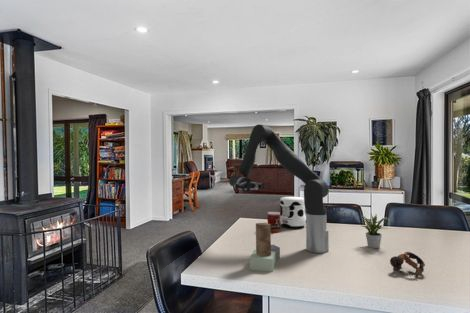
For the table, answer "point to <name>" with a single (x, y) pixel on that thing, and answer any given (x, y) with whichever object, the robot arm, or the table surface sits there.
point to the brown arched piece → (408, 262)
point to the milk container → (292, 212)
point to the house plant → (373, 232)
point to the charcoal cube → (276, 251)
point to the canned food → (274, 221)
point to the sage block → (262, 261)
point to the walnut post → (263, 239)
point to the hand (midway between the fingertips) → (252, 187)
